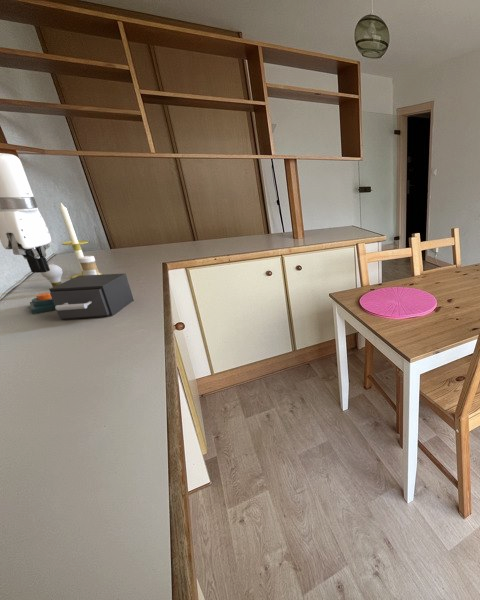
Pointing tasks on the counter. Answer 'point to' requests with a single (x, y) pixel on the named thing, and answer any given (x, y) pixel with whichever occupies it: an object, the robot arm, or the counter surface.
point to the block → (42, 305)
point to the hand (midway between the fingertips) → (41, 271)
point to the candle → (72, 237)
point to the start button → (44, 296)
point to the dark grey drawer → (79, 303)
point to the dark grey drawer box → (111, 286)
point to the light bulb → (53, 274)
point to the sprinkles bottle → (88, 265)
